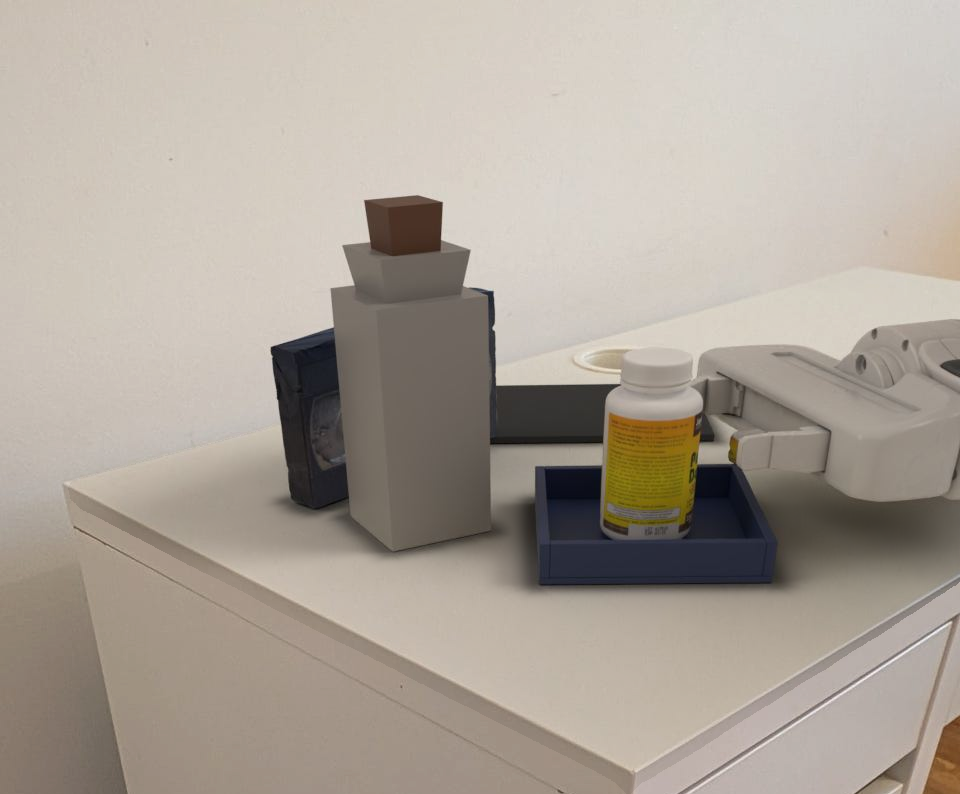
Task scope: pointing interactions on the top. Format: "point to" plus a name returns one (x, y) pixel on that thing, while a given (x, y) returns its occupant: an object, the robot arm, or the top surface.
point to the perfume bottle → (413, 380)
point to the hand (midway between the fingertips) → (696, 427)
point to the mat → (557, 414)
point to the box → (693, 559)
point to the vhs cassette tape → (328, 413)
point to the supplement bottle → (650, 447)
